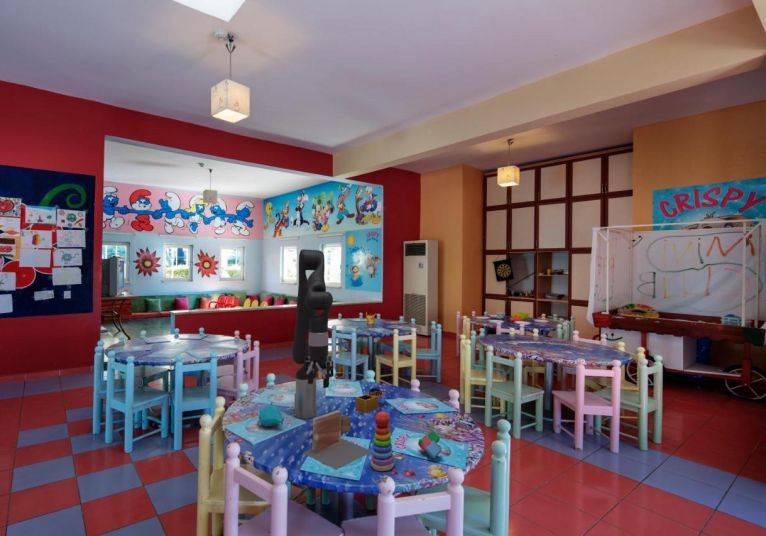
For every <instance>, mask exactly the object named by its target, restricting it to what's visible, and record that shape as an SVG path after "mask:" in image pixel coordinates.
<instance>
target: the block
mask: <svg viewBox="0 0 766 536" xmlns="http://www.w3.org/2000/svg"><path fill="white" fill-rule="evenodd" d="M351 418H352V417H351V416H348V415H346V414H343V415H342V414H341V434H345V433H347V432H350V431H351V425H352V423H351V422H352V420H351Z"/></svg>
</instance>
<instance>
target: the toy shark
mask: <svg viewBox="0 0 766 536" xmlns="http://www.w3.org/2000/svg"><path fill="white" fill-rule="evenodd" d="M257 416H258V420H259V423H258V426H261V424H262V425H263V426H266V427H273V426H275V425H277V424H279V425H281V426H282V427H284V420H285V417H283V414H282V412H281V411H280V410H279V409H278V408H277V407H276V406H275V405H274V404H273V401H270V404H268V405H266V407H265V406H264V407H260V408H259V410H258V412H257ZM272 425H273V426H272Z"/></svg>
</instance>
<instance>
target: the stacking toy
mask: <svg viewBox="0 0 766 536" xmlns="http://www.w3.org/2000/svg"><path fill="white" fill-rule="evenodd" d="M374 421H375V424H376V425H375V428H374V431H375V432H374V438H373V444H372V448H373V449H372V450H371V451H372V452H371V454H372V456H371V461H370V465H371V468H372V469H374V470H375V471H378V472H386V471H391V470H392V469H393V468H394V466H395V461H394V460H395V457H394V454H393V449H392V448H393V445H392V438H391V437H392V433H391V432H390V430H391V428H390V426H389V424H390V422H391V417H390V415H389V414H388V412H386V411H379V412H377V413H376V414H375V417H374Z"/></svg>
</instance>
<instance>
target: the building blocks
mask: <svg viewBox="0 0 766 536" xmlns="http://www.w3.org/2000/svg"><path fill="white" fill-rule="evenodd" d="M440 440H441V438H440V436H439V435H438V434H437V433H436V432H435V431H434V430H433V429H432V430H431V431H430V432H429V433H428V434H427V435H426V434H424V436H423V437H422V438H419V439H418V442H417V445H418V447H420V449H421V450H422V451H423V452H424V453H425V454H428V455H429V456H430V457H431V458H432V460H435V459H436V457H438V455H439V454H440V453H441V452H442V448H441V447H440V445H439V444H438V443H439V441H440Z"/></svg>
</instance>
